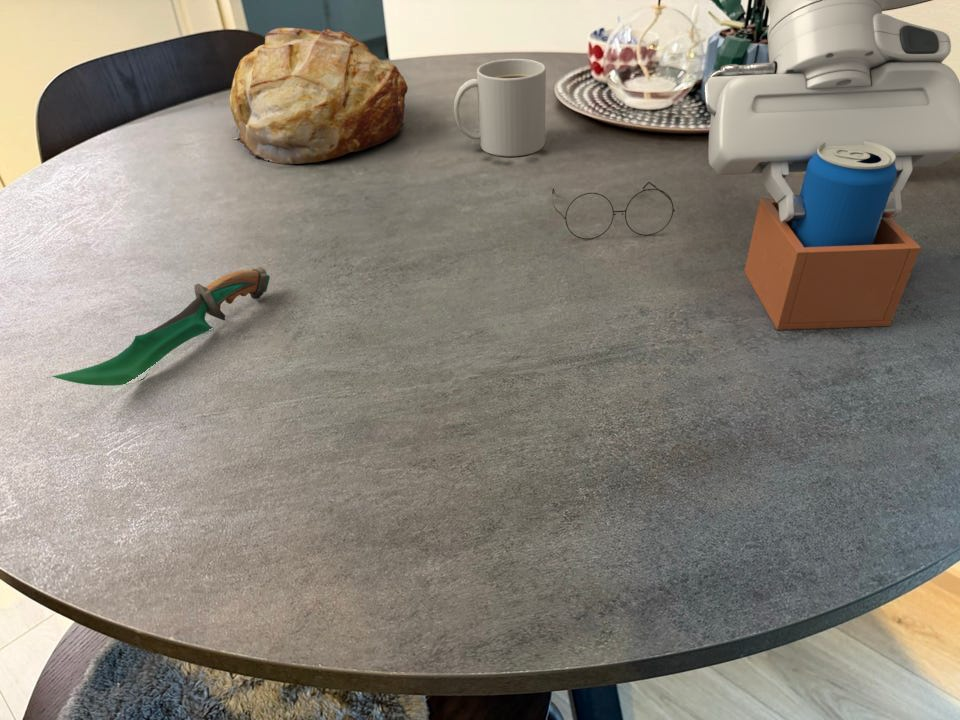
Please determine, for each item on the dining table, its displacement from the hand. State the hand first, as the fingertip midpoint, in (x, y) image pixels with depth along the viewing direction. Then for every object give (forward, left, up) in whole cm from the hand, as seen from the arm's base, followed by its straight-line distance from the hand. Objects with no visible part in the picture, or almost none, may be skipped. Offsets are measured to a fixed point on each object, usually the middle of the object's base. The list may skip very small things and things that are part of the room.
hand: (840, 218), depth 58 cm
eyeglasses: (+16, -19, -8) cm, 26 cm away
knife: (+56, +4, -8) cm, 57 cm away
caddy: (0, -1, -8) cm, 8 cm away
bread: (+54, -49, -8) cm, 73 cm away
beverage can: (0, -1, -7) cm, 7 cm away
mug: (+27, -41, -8) cm, 49 cm away
